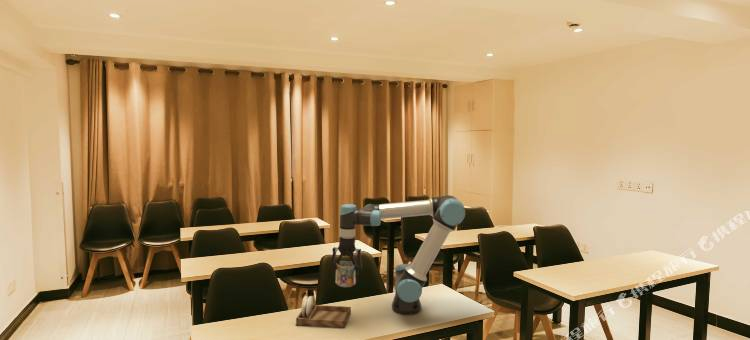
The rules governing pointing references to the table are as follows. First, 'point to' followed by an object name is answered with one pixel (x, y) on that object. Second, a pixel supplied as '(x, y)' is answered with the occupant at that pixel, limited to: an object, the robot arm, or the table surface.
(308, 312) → the plates
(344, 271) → the mug
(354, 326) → the table surface
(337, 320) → the rack
